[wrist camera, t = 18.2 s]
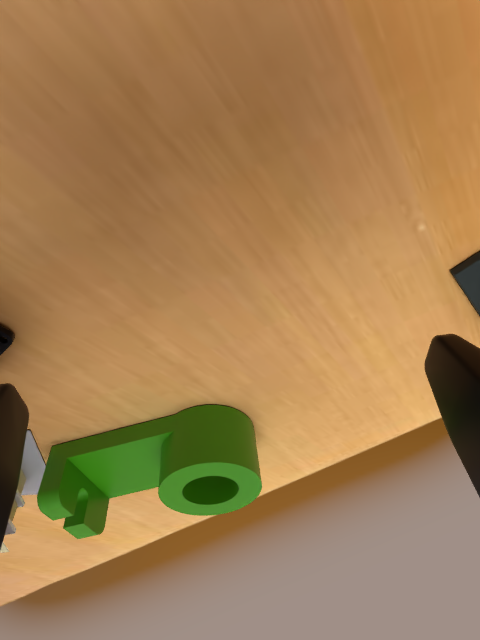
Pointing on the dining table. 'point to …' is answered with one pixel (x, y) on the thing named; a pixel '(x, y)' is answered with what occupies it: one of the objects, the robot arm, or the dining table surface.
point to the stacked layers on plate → (26, 480)
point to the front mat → (469, 279)
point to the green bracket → (155, 468)
